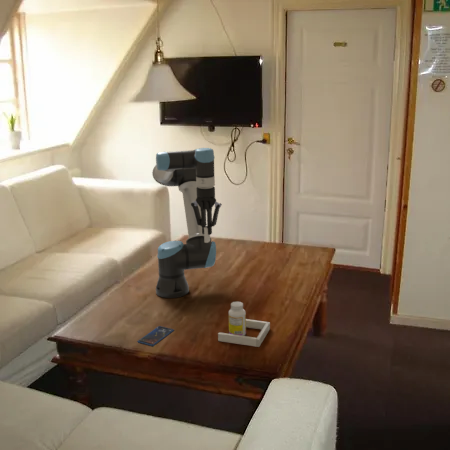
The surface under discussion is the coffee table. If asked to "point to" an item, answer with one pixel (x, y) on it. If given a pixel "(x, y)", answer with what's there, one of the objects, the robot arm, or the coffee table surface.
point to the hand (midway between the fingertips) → (207, 241)
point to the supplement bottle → (237, 319)
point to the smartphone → (155, 336)
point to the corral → (245, 339)
